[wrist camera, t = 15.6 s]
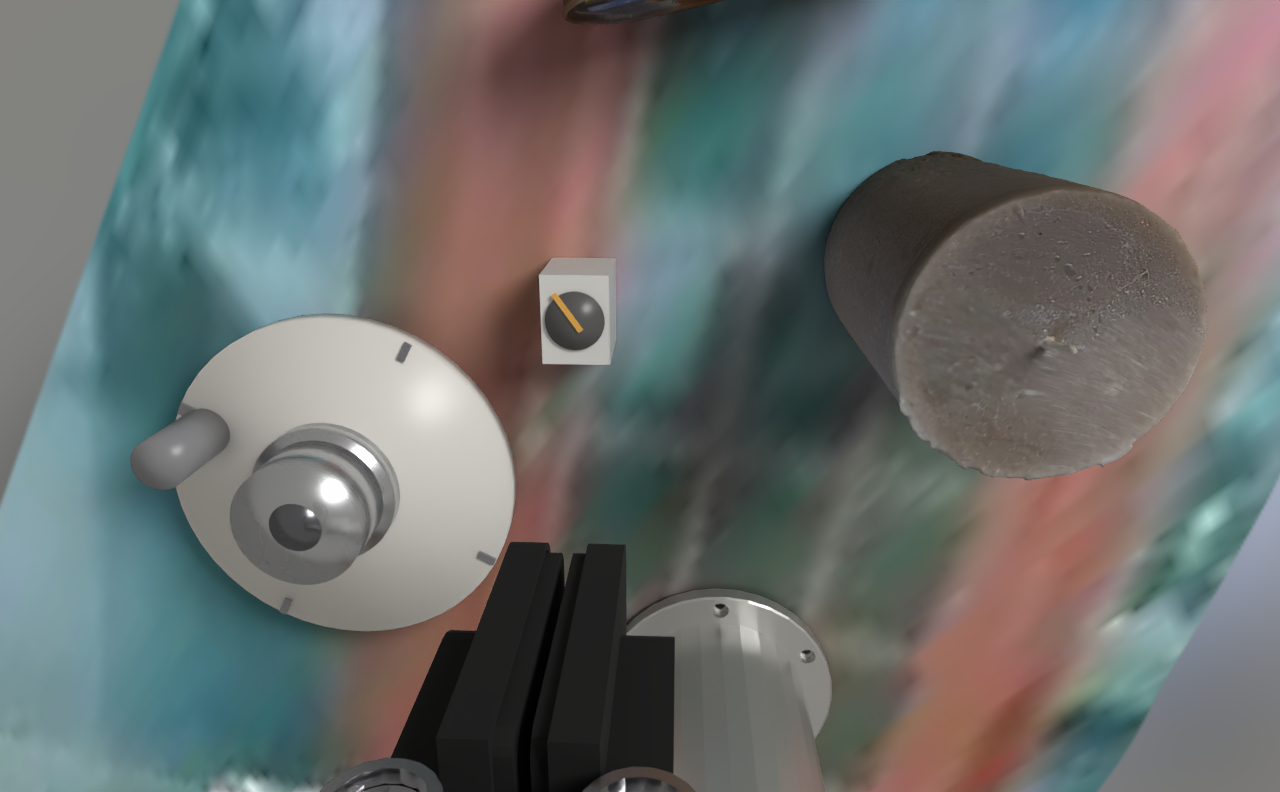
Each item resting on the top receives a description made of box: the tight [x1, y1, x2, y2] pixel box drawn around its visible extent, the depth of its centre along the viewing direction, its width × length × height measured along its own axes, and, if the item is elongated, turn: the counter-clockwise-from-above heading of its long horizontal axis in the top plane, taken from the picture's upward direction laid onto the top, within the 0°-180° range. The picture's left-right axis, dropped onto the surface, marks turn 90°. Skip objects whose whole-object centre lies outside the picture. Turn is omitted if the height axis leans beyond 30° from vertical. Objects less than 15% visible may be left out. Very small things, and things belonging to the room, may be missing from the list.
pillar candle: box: [824, 151, 1207, 480], centre depth 32 cm, size 10×10×15 cm
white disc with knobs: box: [130, 314, 516, 631], centre depth 41 cm, size 17×17×6 cm
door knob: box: [229, 423, 400, 585], centre depth 40 cm, size 7×7×4 cm
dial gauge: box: [539, 258, 616, 365], centre depth 38 cm, size 4×3×4 cm
